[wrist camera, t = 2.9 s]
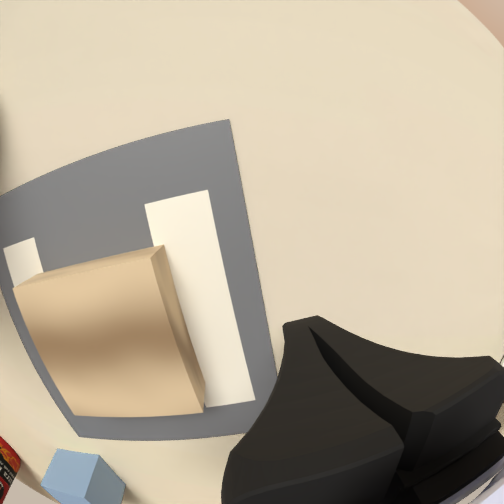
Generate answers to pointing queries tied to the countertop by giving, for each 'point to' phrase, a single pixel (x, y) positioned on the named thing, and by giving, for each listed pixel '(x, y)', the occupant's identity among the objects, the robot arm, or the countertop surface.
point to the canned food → (7, 467)
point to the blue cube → (82, 479)
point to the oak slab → (114, 336)
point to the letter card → (179, 258)
